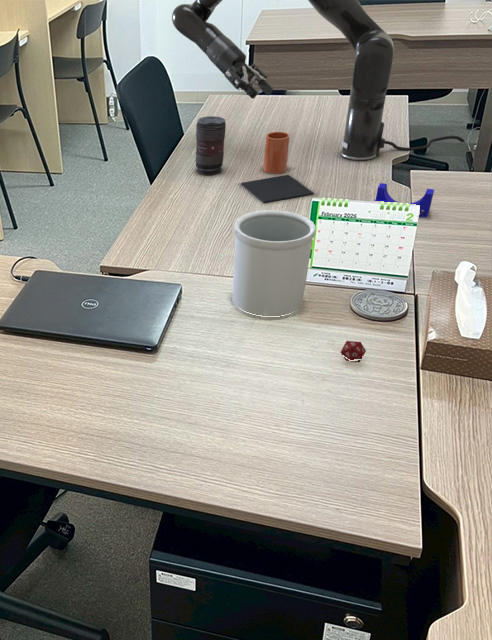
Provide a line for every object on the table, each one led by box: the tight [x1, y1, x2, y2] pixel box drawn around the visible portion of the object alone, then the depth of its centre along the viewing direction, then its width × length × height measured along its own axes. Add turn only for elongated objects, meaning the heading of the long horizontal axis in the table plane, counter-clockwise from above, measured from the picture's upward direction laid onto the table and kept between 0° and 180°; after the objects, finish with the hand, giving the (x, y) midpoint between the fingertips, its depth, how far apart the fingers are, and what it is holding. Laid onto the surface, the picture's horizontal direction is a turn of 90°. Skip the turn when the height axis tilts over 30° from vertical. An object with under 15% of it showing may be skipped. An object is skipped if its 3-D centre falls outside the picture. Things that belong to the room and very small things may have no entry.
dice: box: [340, 340, 367, 363], centre depth 125 cm, size 4×4×4 cm
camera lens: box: [195, 115, 227, 176], centre depth 202 cm, size 8×8×15 cm
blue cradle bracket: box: [374, 182, 435, 219], centre depth 171 cm, size 12×4×6 cm, turn 58°
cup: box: [263, 131, 291, 175], centre depth 199 cm, size 6×6×10 cm
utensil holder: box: [232, 209, 317, 321], centre depth 140 cm, size 15×15×18 cm
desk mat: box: [240, 174, 315, 204], centre depth 191 cm, size 14×14×1 cm
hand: (263, 94), depth 197 cm, fingers open, 8 cm apart
